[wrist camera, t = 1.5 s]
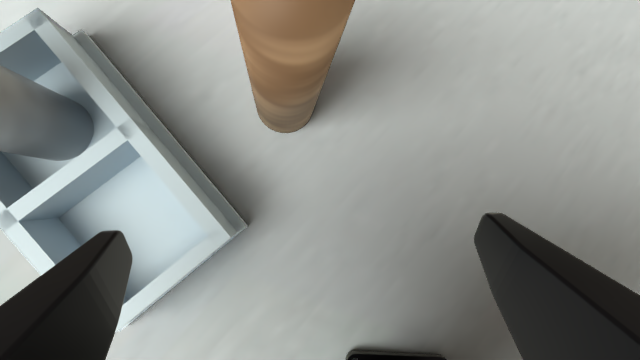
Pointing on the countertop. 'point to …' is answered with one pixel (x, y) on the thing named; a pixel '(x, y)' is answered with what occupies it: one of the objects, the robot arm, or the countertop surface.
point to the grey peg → (40, 120)
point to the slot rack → (107, 173)
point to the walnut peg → (289, 54)
